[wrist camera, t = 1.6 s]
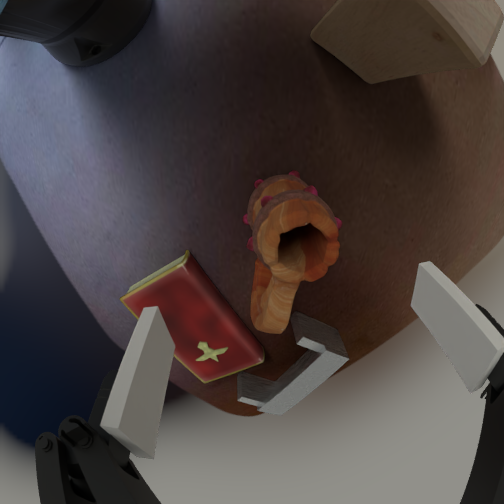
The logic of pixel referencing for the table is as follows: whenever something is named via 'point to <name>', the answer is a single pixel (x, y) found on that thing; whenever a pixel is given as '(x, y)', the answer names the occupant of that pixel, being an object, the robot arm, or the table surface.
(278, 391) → the end cap
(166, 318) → the hardcover book
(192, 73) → the table surface
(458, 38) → the wooden block
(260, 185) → the mug
